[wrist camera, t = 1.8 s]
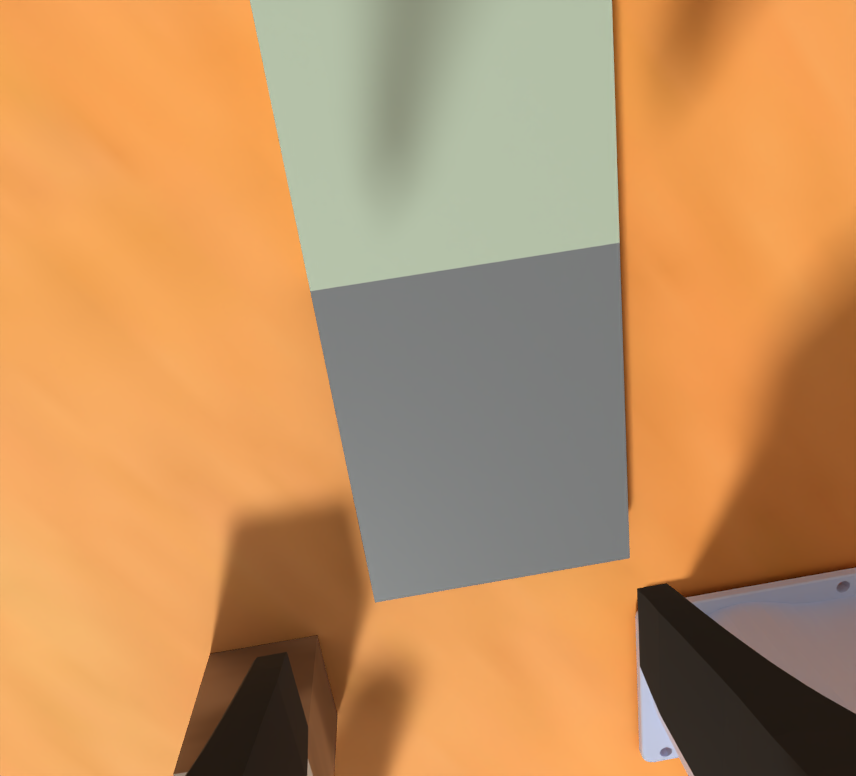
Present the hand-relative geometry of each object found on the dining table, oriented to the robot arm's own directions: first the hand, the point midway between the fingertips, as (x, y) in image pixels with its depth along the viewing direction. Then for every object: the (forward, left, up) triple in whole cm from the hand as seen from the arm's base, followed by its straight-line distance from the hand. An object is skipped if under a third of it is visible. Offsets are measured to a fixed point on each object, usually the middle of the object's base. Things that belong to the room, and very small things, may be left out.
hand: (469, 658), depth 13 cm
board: (-2, -6, -9) cm, 11 cm away
